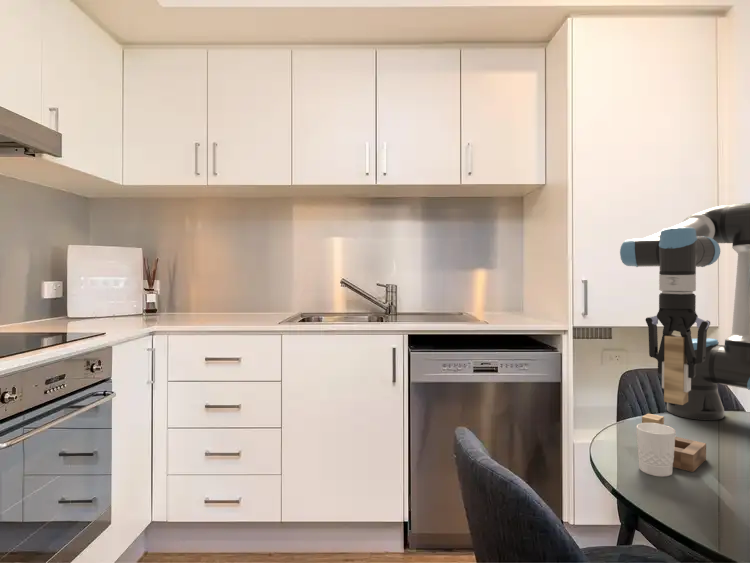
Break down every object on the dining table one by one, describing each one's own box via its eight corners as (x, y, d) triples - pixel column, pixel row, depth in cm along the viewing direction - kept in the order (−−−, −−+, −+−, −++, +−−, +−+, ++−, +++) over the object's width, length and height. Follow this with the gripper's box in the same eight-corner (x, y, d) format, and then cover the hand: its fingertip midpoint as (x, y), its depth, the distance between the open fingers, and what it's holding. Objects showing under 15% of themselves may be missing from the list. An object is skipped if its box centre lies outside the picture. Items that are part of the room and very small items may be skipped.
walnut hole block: (661, 448, 130) (661, 433, 129) (706, 459, 122) (706, 443, 122) (646, 459, 123) (646, 443, 123) (692, 472, 115) (693, 455, 115)
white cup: (670, 465, 119) (670, 423, 119) (679, 479, 112) (680, 435, 111) (633, 462, 122) (633, 421, 121) (640, 476, 114) (640, 432, 114)
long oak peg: (669, 398, 124) (670, 334, 124) (688, 401, 122) (688, 335, 121) (664, 401, 122) (664, 336, 121) (682, 405, 119) (683, 337, 118)
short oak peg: (647, 438, 137) (647, 413, 136) (663, 442, 134) (663, 416, 133) (641, 442, 134) (642, 416, 134) (658, 446, 131) (658, 420, 131)
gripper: (633, 292, 124) (632, 385, 125) (714, 294, 112) (712, 399, 113) (645, 290, 129) (644, 380, 130) (723, 292, 117) (722, 392, 118)
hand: (676, 388), depth 122 cm, fingers closed on long oak peg, 4 cm apart
